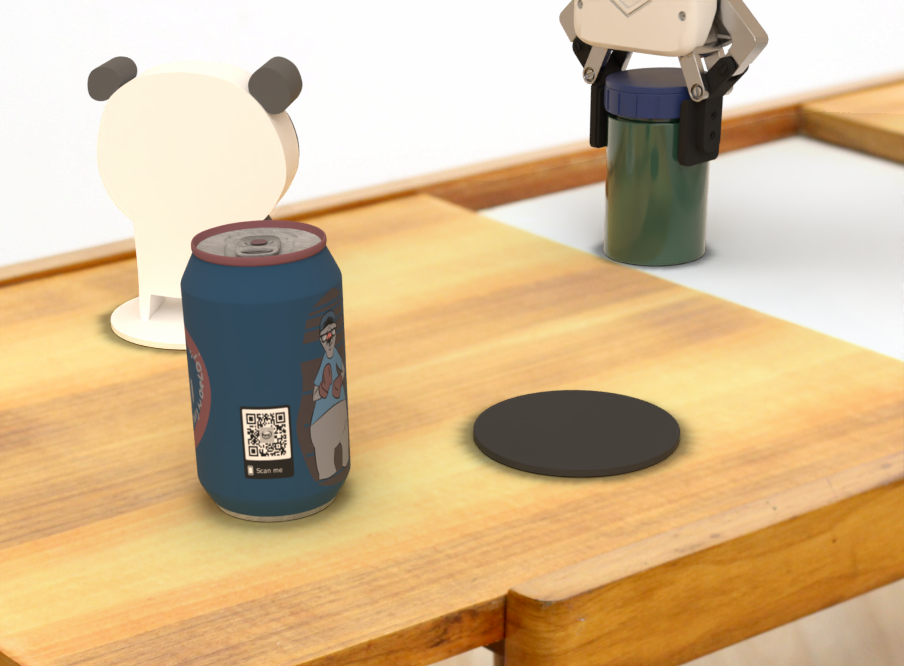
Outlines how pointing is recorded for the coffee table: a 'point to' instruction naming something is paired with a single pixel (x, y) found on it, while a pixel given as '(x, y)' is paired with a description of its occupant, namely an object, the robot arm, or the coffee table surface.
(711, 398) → the coffee table surface
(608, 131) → the jar
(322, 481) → the soda can
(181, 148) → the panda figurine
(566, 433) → the coaster
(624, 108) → the jar lid
